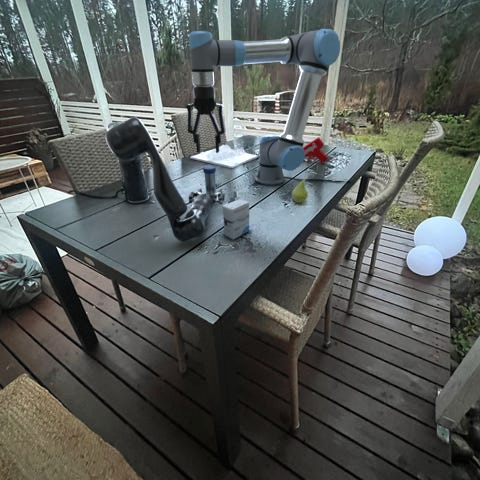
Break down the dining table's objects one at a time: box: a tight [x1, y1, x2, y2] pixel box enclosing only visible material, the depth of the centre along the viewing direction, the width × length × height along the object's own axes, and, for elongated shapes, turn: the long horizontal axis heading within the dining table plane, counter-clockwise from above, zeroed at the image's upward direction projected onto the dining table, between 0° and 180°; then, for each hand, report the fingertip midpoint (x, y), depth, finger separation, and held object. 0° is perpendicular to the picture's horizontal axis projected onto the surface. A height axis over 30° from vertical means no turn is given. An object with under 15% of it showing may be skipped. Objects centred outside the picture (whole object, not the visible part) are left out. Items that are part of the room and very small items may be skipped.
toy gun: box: [302, 136, 329, 165], centre depth 169 cm, size 18×4×15 cm
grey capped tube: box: [203, 172, 218, 206], centre depth 117 cm, size 4×4×16 cm
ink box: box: [222, 198, 250, 240], centre depth 96 cm, size 8×5×12 cm, turn 134°
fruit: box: [291, 174, 311, 204], centre depth 118 cm, size 7×8×12 cm
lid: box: [202, 165, 217, 174], centre depth 113 cm, size 5×5×2 cm
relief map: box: [190, 144, 259, 169], centre depth 178 cm, size 27×35×5 cm
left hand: (210, 190), depth 117 cm, fingers open, 8 cm apart
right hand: (208, 151), depth 109 cm, fingers open, 7 cm apart
